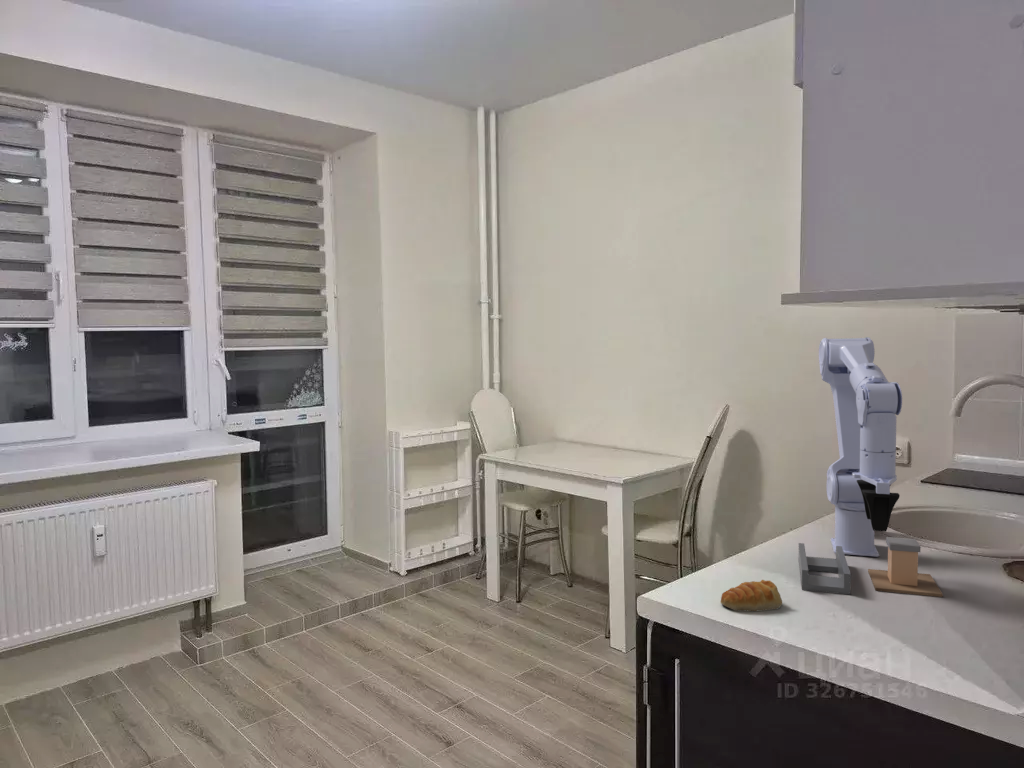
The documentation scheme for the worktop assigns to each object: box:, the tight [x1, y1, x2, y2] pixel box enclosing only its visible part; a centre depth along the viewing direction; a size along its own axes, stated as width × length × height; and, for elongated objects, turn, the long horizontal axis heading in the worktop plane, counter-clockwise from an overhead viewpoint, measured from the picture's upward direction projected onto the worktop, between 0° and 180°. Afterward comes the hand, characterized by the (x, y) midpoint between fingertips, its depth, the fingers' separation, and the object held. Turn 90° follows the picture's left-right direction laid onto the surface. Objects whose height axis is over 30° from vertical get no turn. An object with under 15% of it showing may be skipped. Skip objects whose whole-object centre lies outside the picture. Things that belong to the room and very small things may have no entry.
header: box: [797, 542, 852, 595], centre depth 128 cm, size 16×8×4 cm, turn 160°
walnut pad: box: [867, 568, 944, 598], centre depth 124 cm, size 10×10×1 cm
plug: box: [885, 536, 922, 586], centre depth 124 cm, size 5×5×7 cm
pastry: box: [720, 579, 783, 612], centre depth 116 cm, size 9×7×4 cm
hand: (876, 524), depth 127 cm, fingers open, 7 cm apart
